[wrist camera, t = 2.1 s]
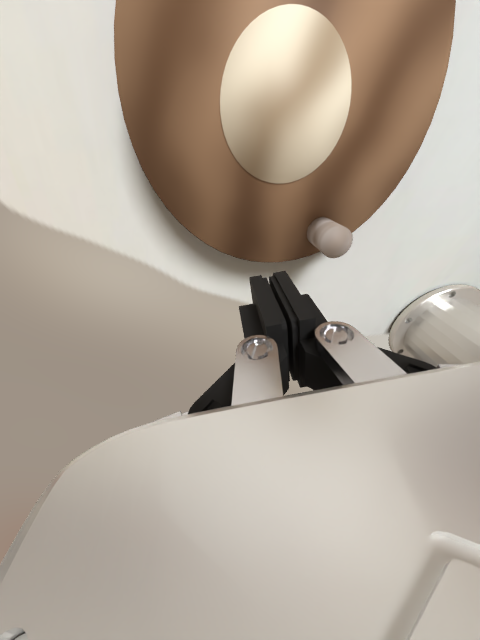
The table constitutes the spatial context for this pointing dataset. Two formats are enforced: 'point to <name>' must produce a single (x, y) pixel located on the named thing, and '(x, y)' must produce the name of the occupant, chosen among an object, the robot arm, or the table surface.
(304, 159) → the turntable
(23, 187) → the table surface
